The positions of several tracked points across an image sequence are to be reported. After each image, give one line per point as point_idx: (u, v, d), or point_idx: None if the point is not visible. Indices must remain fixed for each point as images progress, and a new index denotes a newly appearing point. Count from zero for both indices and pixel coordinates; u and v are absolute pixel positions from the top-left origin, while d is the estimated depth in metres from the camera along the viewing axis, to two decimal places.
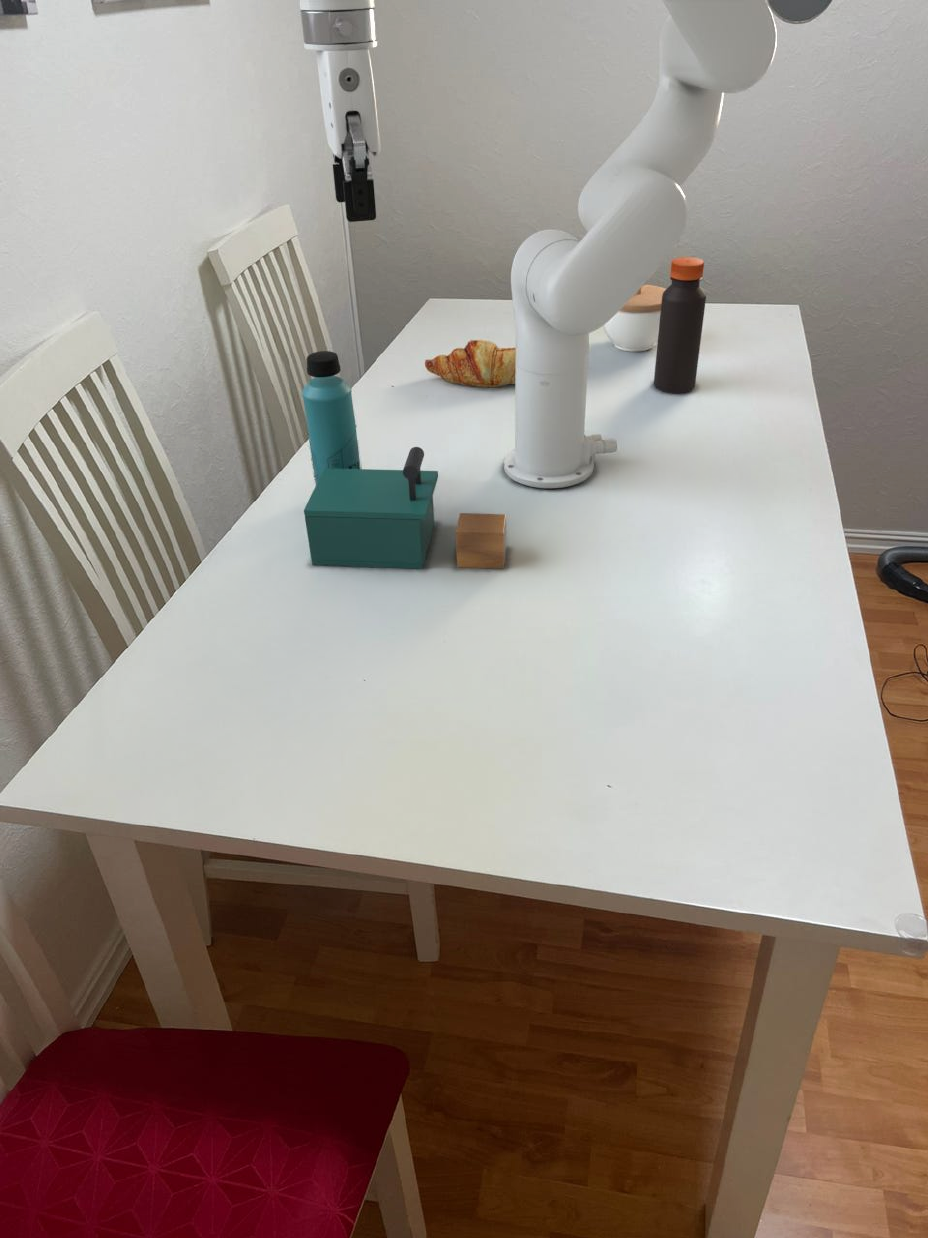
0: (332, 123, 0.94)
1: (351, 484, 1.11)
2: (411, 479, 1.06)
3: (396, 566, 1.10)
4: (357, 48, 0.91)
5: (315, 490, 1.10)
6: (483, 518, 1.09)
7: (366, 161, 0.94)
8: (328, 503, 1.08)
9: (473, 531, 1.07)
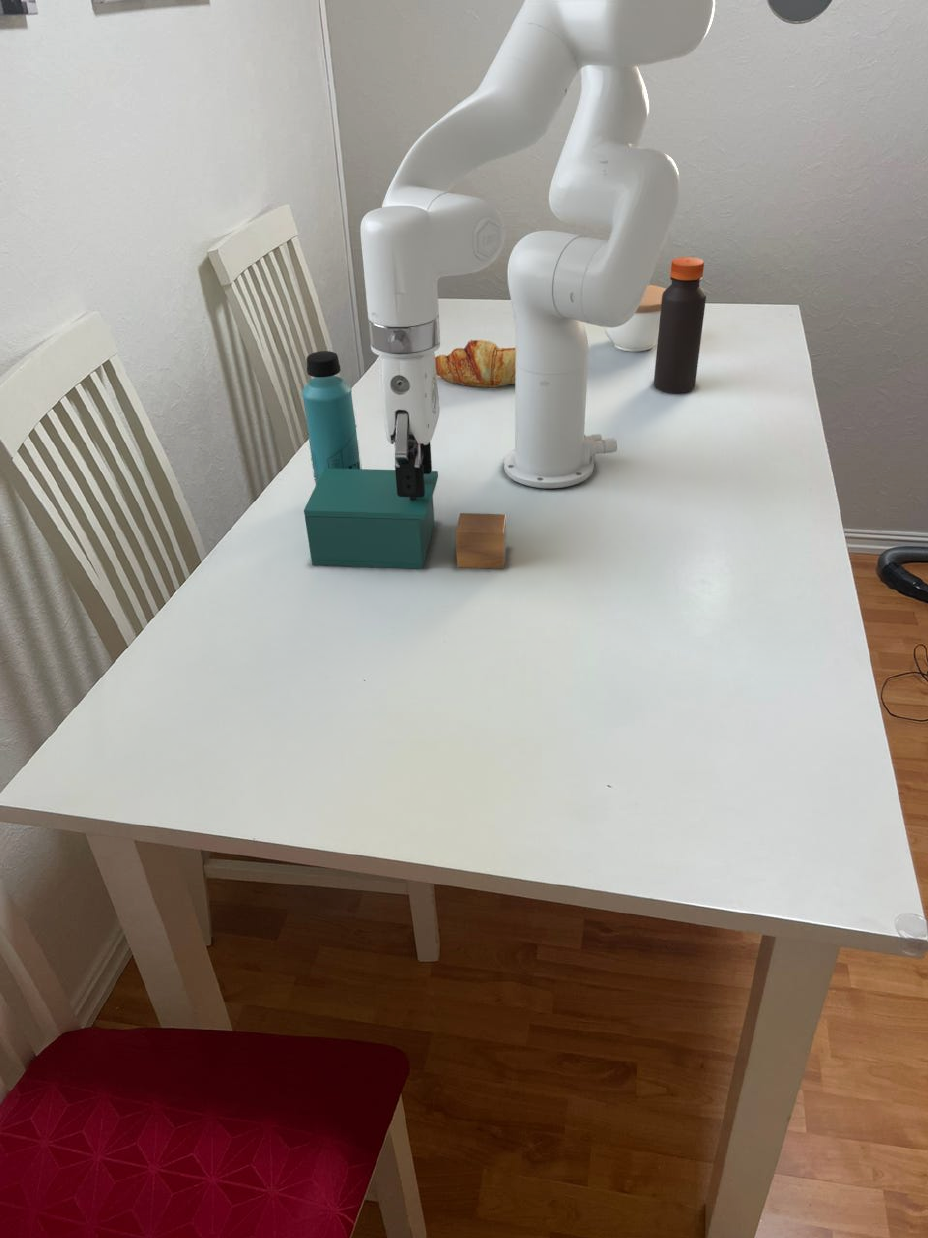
0: (384, 416, 0.99)
1: (351, 484, 1.11)
2: None
3: (396, 566, 1.10)
4: (411, 357, 0.96)
5: (315, 490, 1.10)
6: (483, 518, 1.09)
7: (410, 458, 1.01)
8: (328, 503, 1.08)
9: (473, 531, 1.07)
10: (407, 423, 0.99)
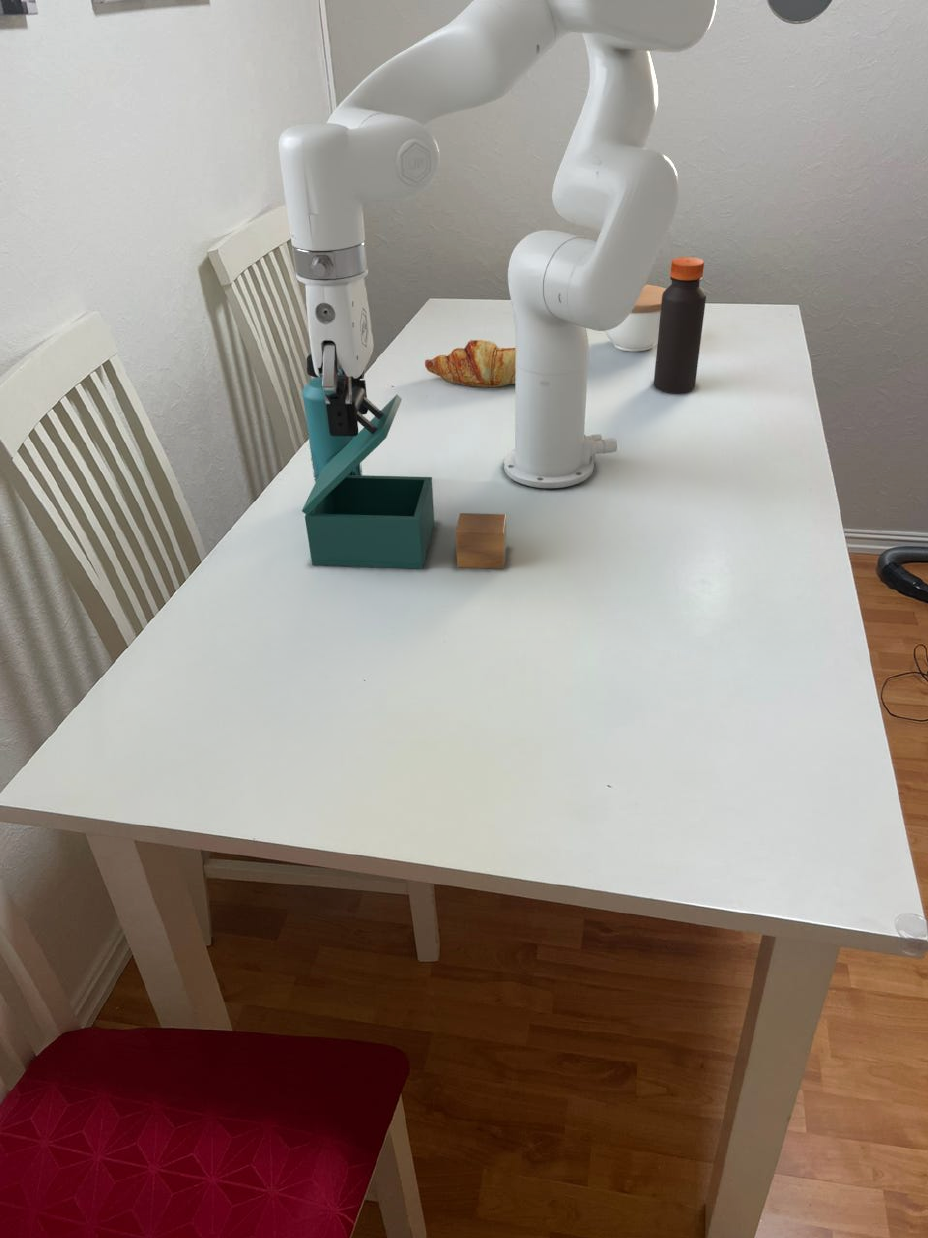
0: (311, 348, 0.96)
1: (336, 462, 1.10)
2: None
3: (396, 566, 1.10)
4: (336, 284, 0.92)
5: (312, 489, 1.10)
6: (483, 518, 1.09)
7: (339, 392, 0.97)
8: (318, 490, 1.07)
9: (473, 531, 1.07)
10: (334, 354, 0.95)
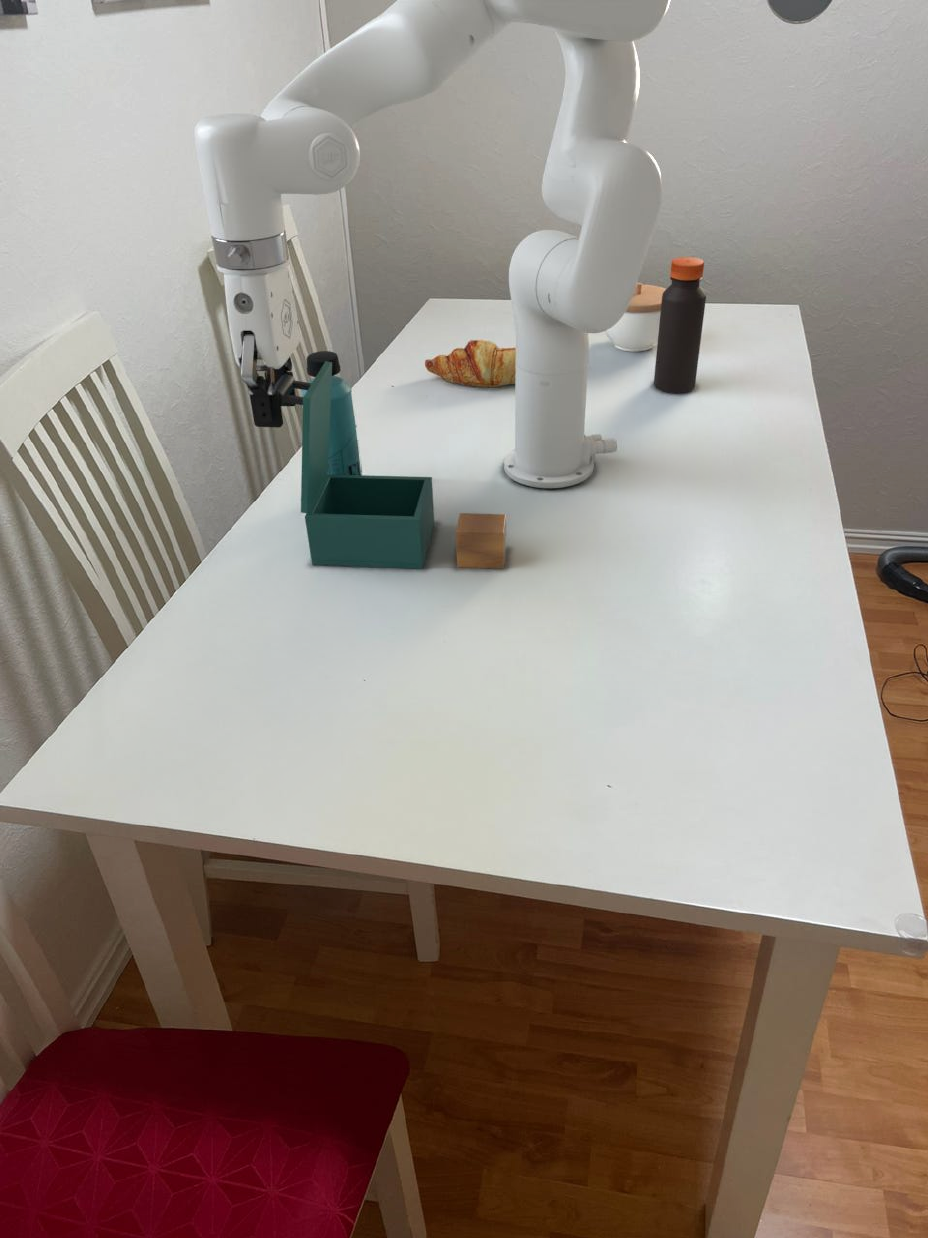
0: (231, 338, 0.96)
1: None
2: (283, 399, 1.01)
3: (396, 566, 1.10)
4: (254, 274, 0.93)
5: None
6: (483, 518, 1.09)
7: (259, 382, 0.97)
8: None
9: (473, 531, 1.07)
10: (254, 344, 0.95)
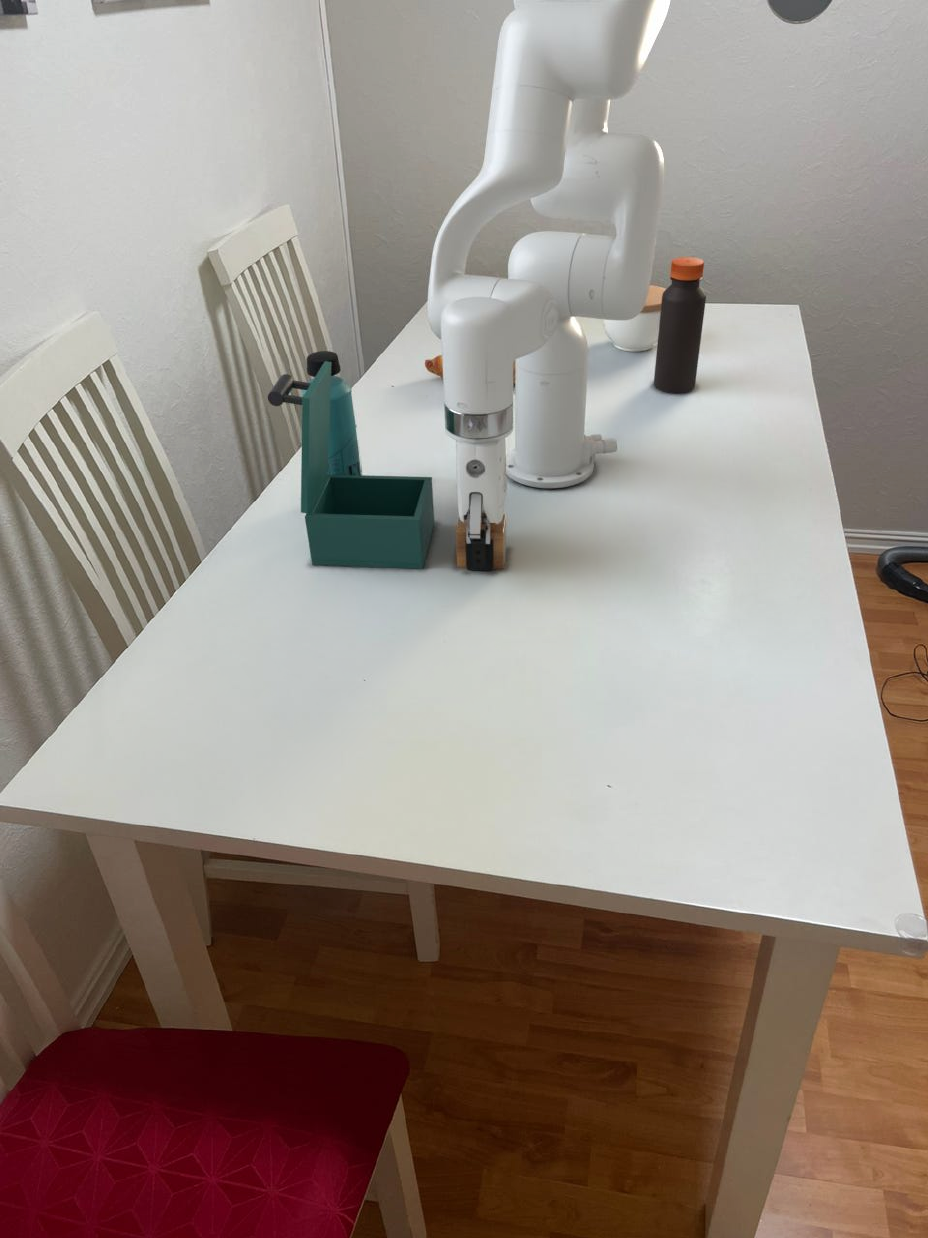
0: None
1: None
2: (283, 399, 1.01)
3: (396, 566, 1.10)
4: (487, 442, 0.98)
5: None
6: None
7: (482, 536, 1.03)
8: None
9: None
10: (481, 504, 1.01)
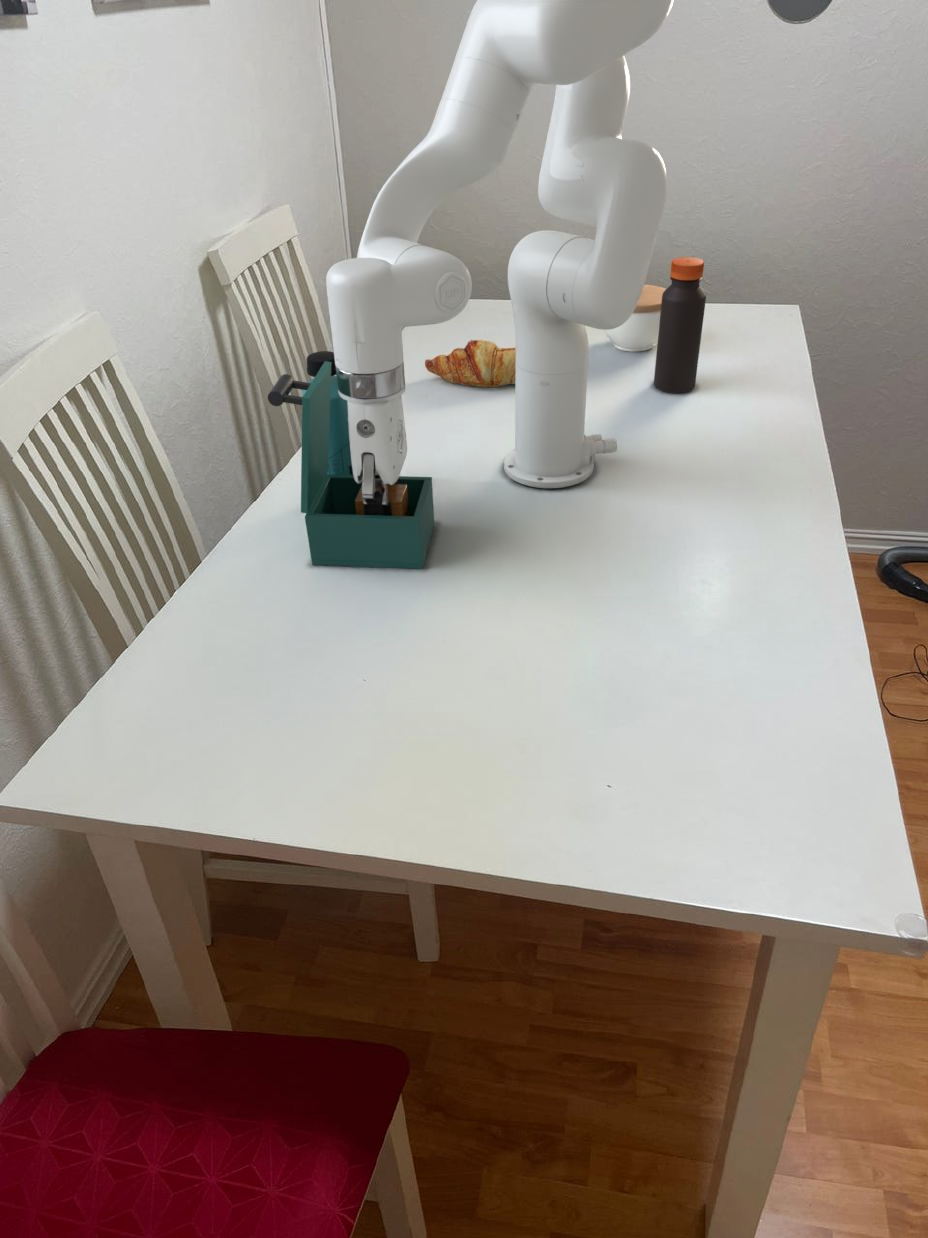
0: (351, 458, 1.03)
1: None
2: (283, 399, 1.01)
3: (396, 566, 1.10)
4: (376, 402, 0.99)
5: None
6: None
7: (377, 497, 1.04)
8: None
9: None
10: (373, 465, 1.02)
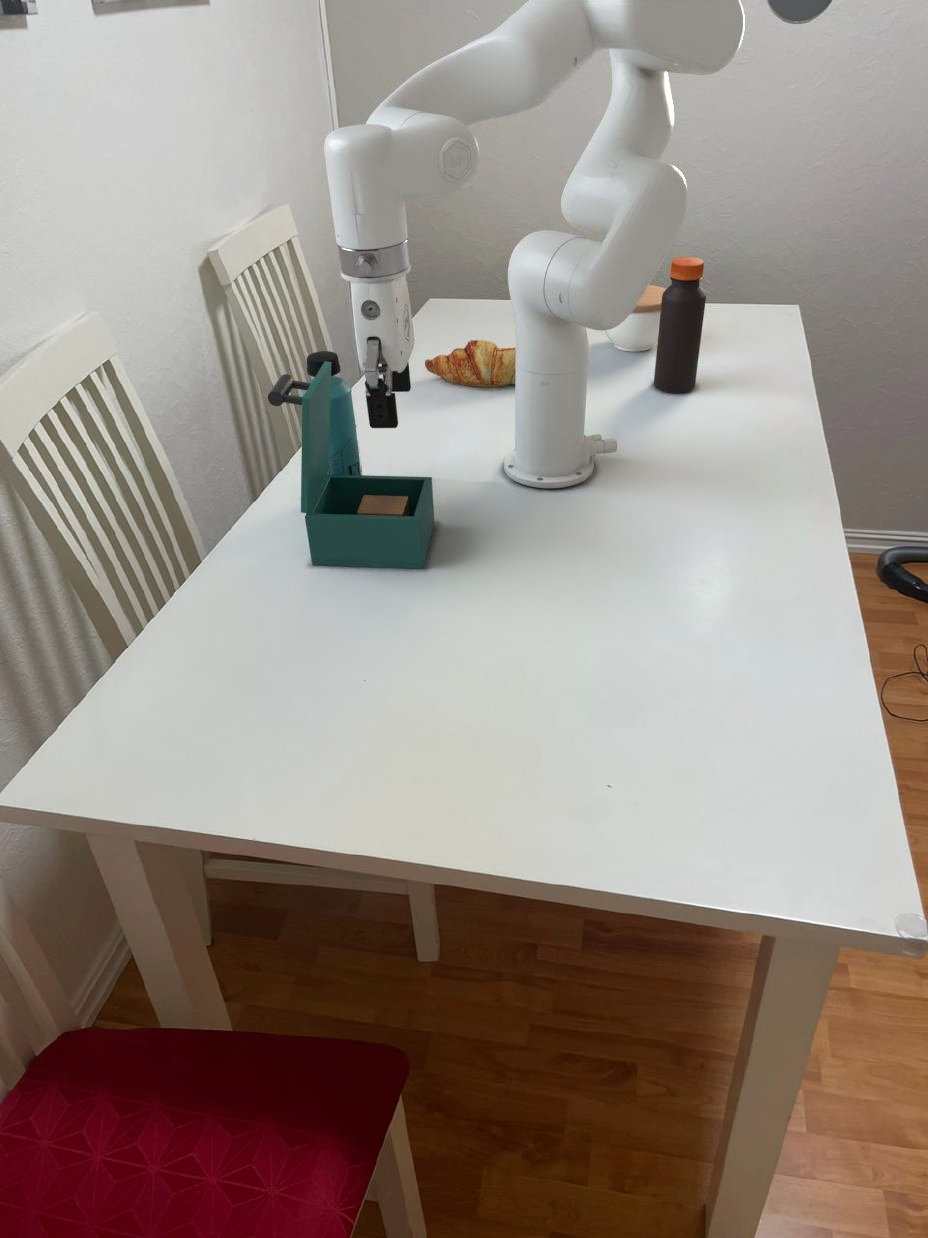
0: (356, 344, 0.98)
1: None
2: (283, 399, 1.01)
3: (396, 566, 1.10)
4: (381, 281, 0.95)
5: None
6: (386, 500, 1.12)
7: (380, 385, 0.97)
8: None
9: (373, 512, 1.09)
10: (379, 350, 0.98)
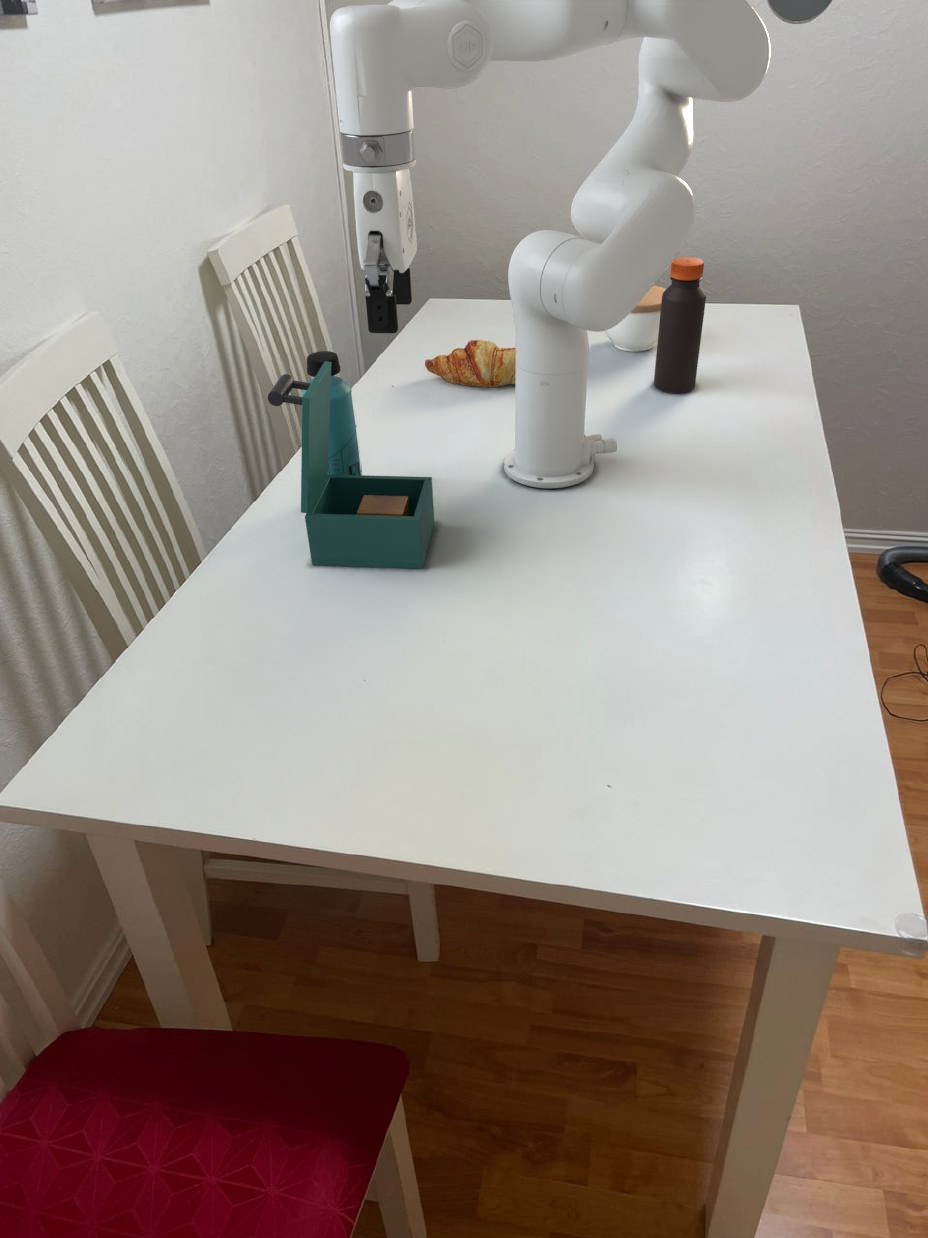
0: (357, 240, 0.95)
1: None
2: (283, 399, 1.01)
3: (396, 566, 1.10)
4: (384, 171, 0.91)
5: None
6: (386, 500, 1.12)
7: (380, 281, 0.94)
8: None
9: (373, 512, 1.09)
10: (381, 246, 0.94)
